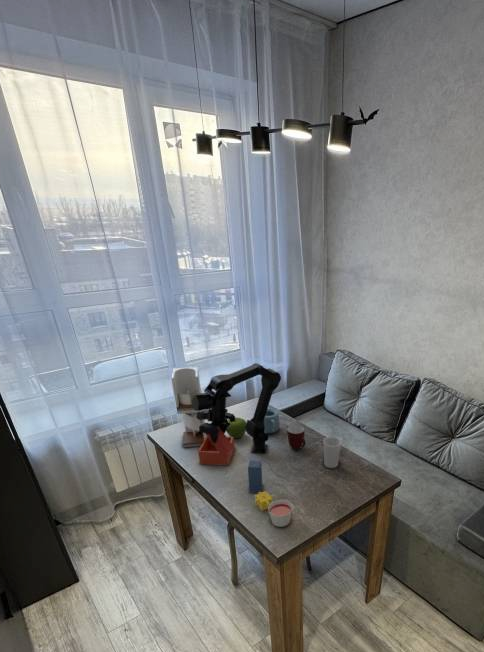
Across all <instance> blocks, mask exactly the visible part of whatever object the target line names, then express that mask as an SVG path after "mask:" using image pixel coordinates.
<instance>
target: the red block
mask: <svg viewBox="0 0 484 652" xmlns="http://www.w3.org/2000/svg"><path fill="white" fill-rule="evenodd" d="M218 430H220V432H219V435H218V438H217V440H216V443H213V442H212V440H211V437H210V435H209V434H206V433H205V434H206V435H207V437H208V438H209V439H210V441H211V442H212V443H213V445H214V446H215V448H216V449H217V450H218V452H219V453H220V454H221V456H223V455H225V454H227V453H228V452H230V451H231V450H232V449H234V448H235V446H234V447H233V445H232V444H231V443H230V441H229V440H228V438H227V437H228V436H226V433H225V434H224V433H223V431H222V430H221V429H220V427H219V426H218ZM234 450H235V449H234Z"/></svg>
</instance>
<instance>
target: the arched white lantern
mask: <svg viewBox="0 0 484 652" xmlns="http://www.w3.org/2000/svg"><path fill="white" fill-rule="evenodd" d="M171 382H172V389H173V395H174V400H175V406H176V414H177V415H181V421H182V424H183V425H184V428H185V429H184V430H185V431H182V432H183V435H182V448H191V447H201V445H202V443H203V441H204V440H205V438H206V436H207V435H206V434H205V433H203V432H199V426H201V425H202V424H204V423H206V420H198V419H197V417H196V416H197V412H199V411H200V412H201V411H203V410H199V411H195V410H194V408H193V406H192V400H193V397H194V396H195V393H202V388H201V380H200V374H199V367H198V366H192V367H173V368H172V373H171Z"/></svg>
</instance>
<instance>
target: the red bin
mask: <svg viewBox="0 0 484 652" xmlns="http://www.w3.org/2000/svg"><path fill="white" fill-rule="evenodd" d="M226 437H227V438H228V440H229V441H230V443H231V444H232V445H233V447H234V449H232V450H231V451H230V452H228V453H227V454H225V455H223V456H221V454H220V453H219V452H218V450H217V449H216V448H215V446H214V445H213V443H212V442H211V441H210V439H209V438H208V437H207V436H206V438H205V440H204V441H203V443H202V445H201V446H199V447H200V448H199V450H198V451H197V453H198V460H199V465H216V466H217V465H218V466H229V465H230V462H231V460H232V457H233V454H234V451H235V448H236V447H235V438H234V437H231V436H226Z"/></svg>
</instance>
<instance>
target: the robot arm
mask: <svg viewBox="0 0 484 652" xmlns="http://www.w3.org/2000/svg"><path fill="white" fill-rule="evenodd" d="M257 376H261V379H260V383H261V390H260V394H259V397H258V400H257V404H256V406H255V410H254V413H253V417H252V418H251V419H247V420H246V423H247V424H246V426H245V428H246V431H245V433H246V434H247V435H249V437H251V438H252V449H251V453H253V454H255V453H257V454H258V453H259V454H265V453H266V452H267V448H268V444H266V442H267V441H269V439H270V436H269V434H267V433H264V430H265V426H264V418H265V415H266V412H267V409H269V405H270V402H271V398H272V395H273V392H274V391H275V390H276V389H277V388H278V387H279V386H280V385H279V384H280V383H281V380H282V376H281V373H279V372H278V371H276V370H274V369H272V368H270V367H269V368H266V367H264V366H263V365H262V364H260V363H257V362H255V363H253V364H252V365H249V366H246V367H244V368H242V369H239V370H236V371H234V372H231V373H227V374H218V375H213V376H212V377H211V379H210V381H209V382H208V384H207V386H206V387H205V388H204V390H203V392H201V393H195V396H194V397H193V400H192V406H193V408H194V410H195V411H199V410H203V411H201V412H200V411H199V412H197V416H196V417H197V419H198V420H205V421H206V420H207V422H205V423H204V424H202V425H201V426H199V432H203V433H206V434H209V435H210V437H211V440H212V442H213V443H216V440H217V438H218V435H219V432H220V430H218V426H219V427H220V429H221V430H222V431H223V433H224V434H225V435H226V433H227V432H226V430H227V429H228V427H229V426H230V424H231V423H228V421H227V420H228V419H230V422H233V421H235V418H236V415H235V413H230V412H228V408H227V398H231V397H232V394H230V393H229V392H230V391H231V390H232V389H233V388H234V386H236V385H238V384H241V383H242V382H245V381H247V380H250V379H252V378H255V377H257ZM213 390H214V391H213Z"/></svg>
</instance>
